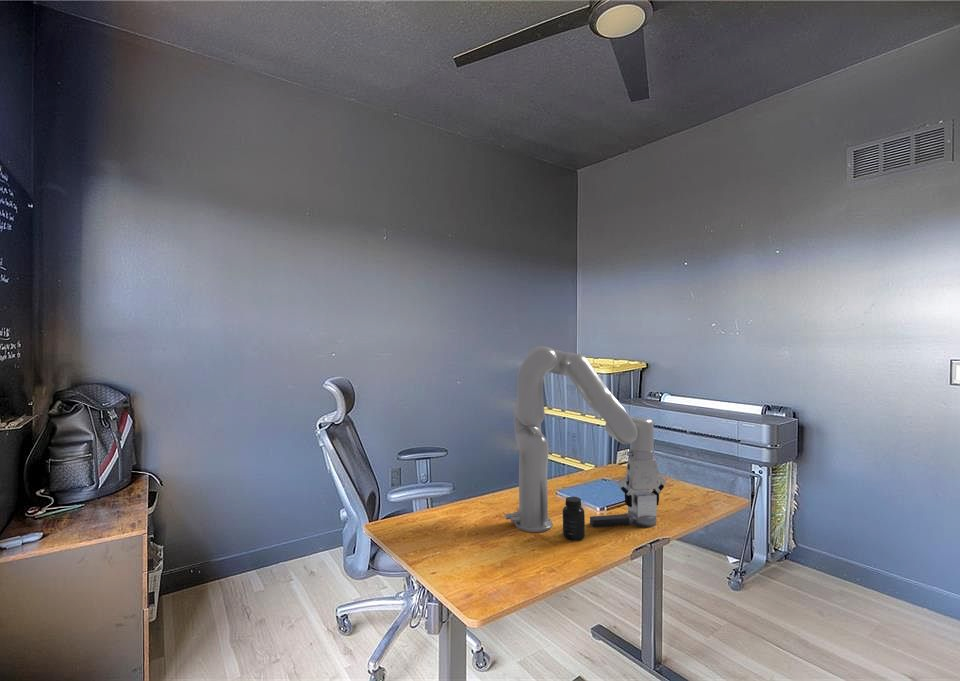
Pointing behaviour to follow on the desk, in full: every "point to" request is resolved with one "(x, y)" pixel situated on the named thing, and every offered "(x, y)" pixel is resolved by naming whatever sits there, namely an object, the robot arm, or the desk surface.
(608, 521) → the ratchet
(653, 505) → the grey matte cube
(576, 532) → the supplement bottle
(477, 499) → the desk surface
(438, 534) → the desk surface
